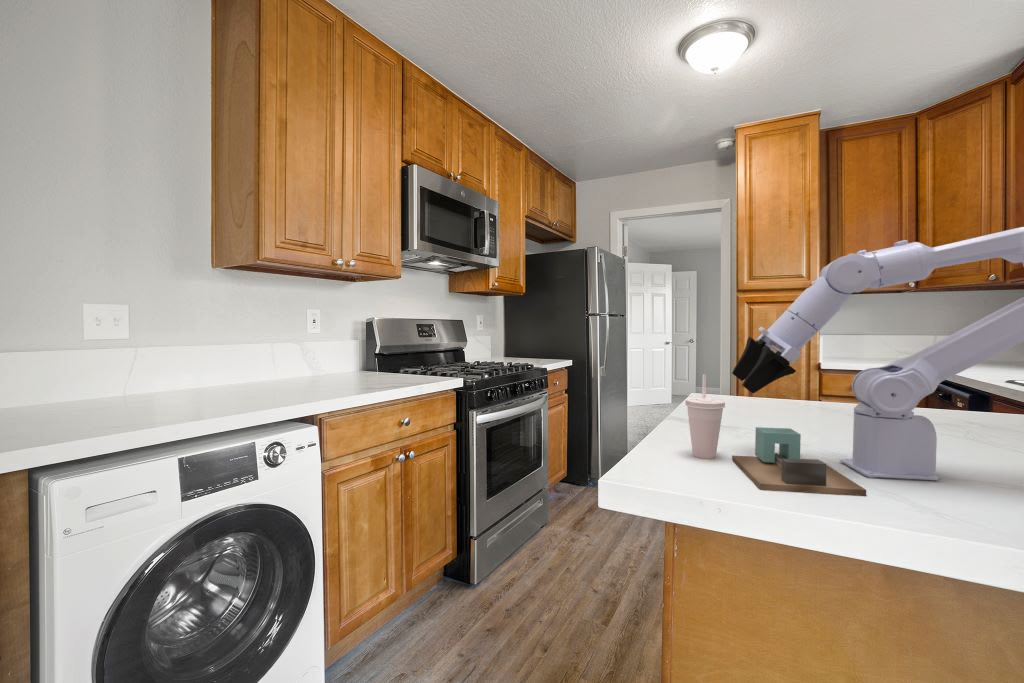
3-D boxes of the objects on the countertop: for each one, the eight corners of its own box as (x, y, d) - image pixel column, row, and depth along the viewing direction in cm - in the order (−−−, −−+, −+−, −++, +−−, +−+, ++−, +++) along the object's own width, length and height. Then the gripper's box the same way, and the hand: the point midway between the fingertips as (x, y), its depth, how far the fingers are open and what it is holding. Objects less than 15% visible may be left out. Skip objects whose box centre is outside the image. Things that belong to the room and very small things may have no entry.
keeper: (789, 456, 76) (790, 428, 76) (799, 463, 72) (800, 434, 72) (755, 454, 77) (755, 427, 77) (763, 461, 73) (763, 432, 73)
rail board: (818, 464, 75) (818, 441, 75) (866, 495, 62) (866, 467, 62) (732, 460, 78) (732, 437, 78) (759, 489, 64) (760, 462, 64)
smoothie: (717, 451, 83) (718, 373, 83) (730, 461, 77) (731, 377, 77) (680, 450, 84) (681, 373, 84) (690, 460, 78) (691, 377, 77)
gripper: (768, 301, 83) (715, 358, 87) (796, 311, 69) (731, 379, 73) (801, 325, 82) (746, 382, 86) (836, 340, 68) (769, 407, 72)
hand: (741, 382), depth 80 cm, fingers open, 7 cm apart
